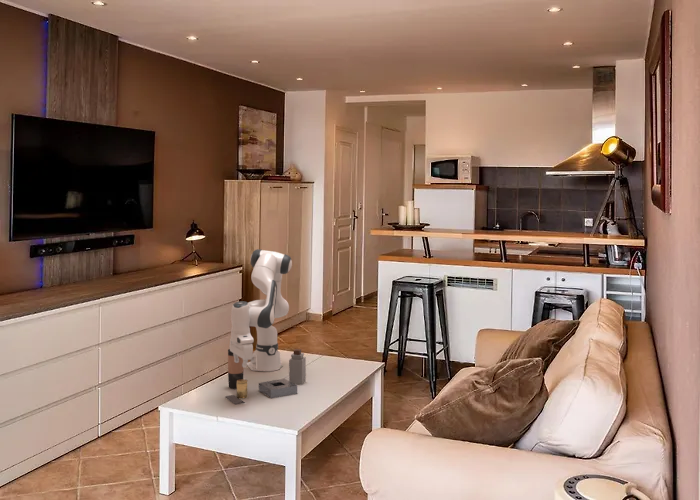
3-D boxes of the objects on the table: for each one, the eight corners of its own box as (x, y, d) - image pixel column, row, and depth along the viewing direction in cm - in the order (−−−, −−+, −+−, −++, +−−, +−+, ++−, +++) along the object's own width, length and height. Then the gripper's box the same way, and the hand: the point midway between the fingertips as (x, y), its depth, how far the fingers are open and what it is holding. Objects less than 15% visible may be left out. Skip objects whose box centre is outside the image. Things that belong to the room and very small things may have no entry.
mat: (225, 397, 320) (225, 396, 320) (248, 393, 327) (248, 392, 327) (235, 404, 310) (235, 402, 310) (258, 400, 317) (258, 398, 317)
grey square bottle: (302, 386, 339) (302, 351, 338) (289, 385, 341) (289, 351, 339) (305, 382, 346) (305, 348, 344) (293, 382, 347) (292, 348, 346)
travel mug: (246, 387, 337) (246, 348, 336) (239, 391, 330) (238, 351, 328) (232, 385, 340) (232, 347, 338) (225, 390, 333) (224, 350, 331)
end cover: (235, 396, 319) (235, 380, 319) (244, 394, 322) (244, 378, 321) (239, 399, 315) (239, 382, 314) (249, 397, 318) (249, 381, 317)
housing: (258, 392, 329) (258, 382, 328) (284, 388, 336) (284, 378, 336) (271, 400, 317) (271, 390, 316) (297, 395, 324) (297, 385, 324)
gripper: (226, 332, 323) (226, 360, 325) (242, 341, 306) (242, 371, 307) (238, 331, 326) (238, 358, 328) (255, 340, 309) (255, 369, 311)
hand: (240, 364), depth 317 cm, fingers open, 8 cm apart
